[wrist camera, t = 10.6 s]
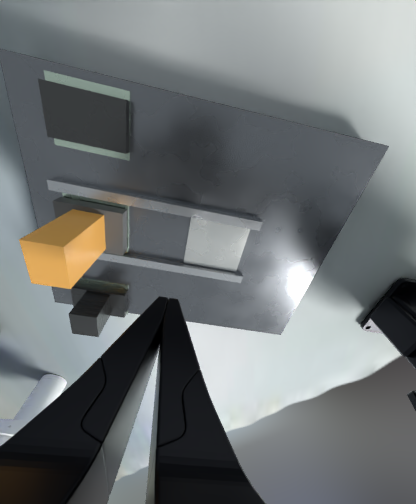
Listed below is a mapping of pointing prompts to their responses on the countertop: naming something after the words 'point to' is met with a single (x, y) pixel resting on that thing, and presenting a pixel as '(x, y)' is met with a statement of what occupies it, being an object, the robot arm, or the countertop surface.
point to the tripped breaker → (73, 241)
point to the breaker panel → (185, 194)
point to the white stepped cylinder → (33, 405)
